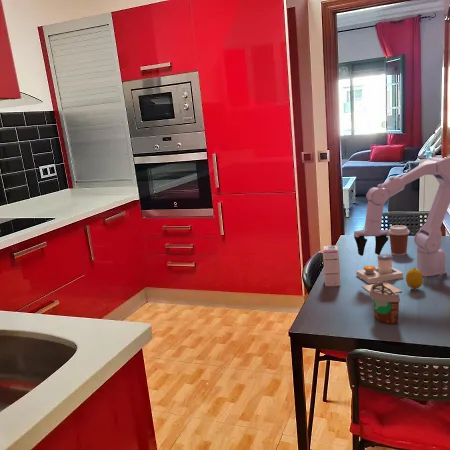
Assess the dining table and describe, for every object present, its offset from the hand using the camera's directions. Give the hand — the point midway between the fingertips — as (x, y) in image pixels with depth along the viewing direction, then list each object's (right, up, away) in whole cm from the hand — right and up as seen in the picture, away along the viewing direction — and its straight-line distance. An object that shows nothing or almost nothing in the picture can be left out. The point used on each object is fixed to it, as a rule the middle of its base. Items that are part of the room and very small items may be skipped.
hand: (369, 254), depth 170 cm
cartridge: (+7, -8, +4) cm, 12 cm away
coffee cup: (+22, -1, +28) cm, 36 cm away
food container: (-6, -18, -31) cm, 37 cm away
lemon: (+12, -12, -12) cm, 21 cm away
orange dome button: (+1, -8, +2) cm, 8 cm away
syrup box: (-14, -11, +1) cm, 18 cm away
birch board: (+1, -12, -9) cm, 15 cm away
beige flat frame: (+5, -9, +3) cm, 11 cm away
